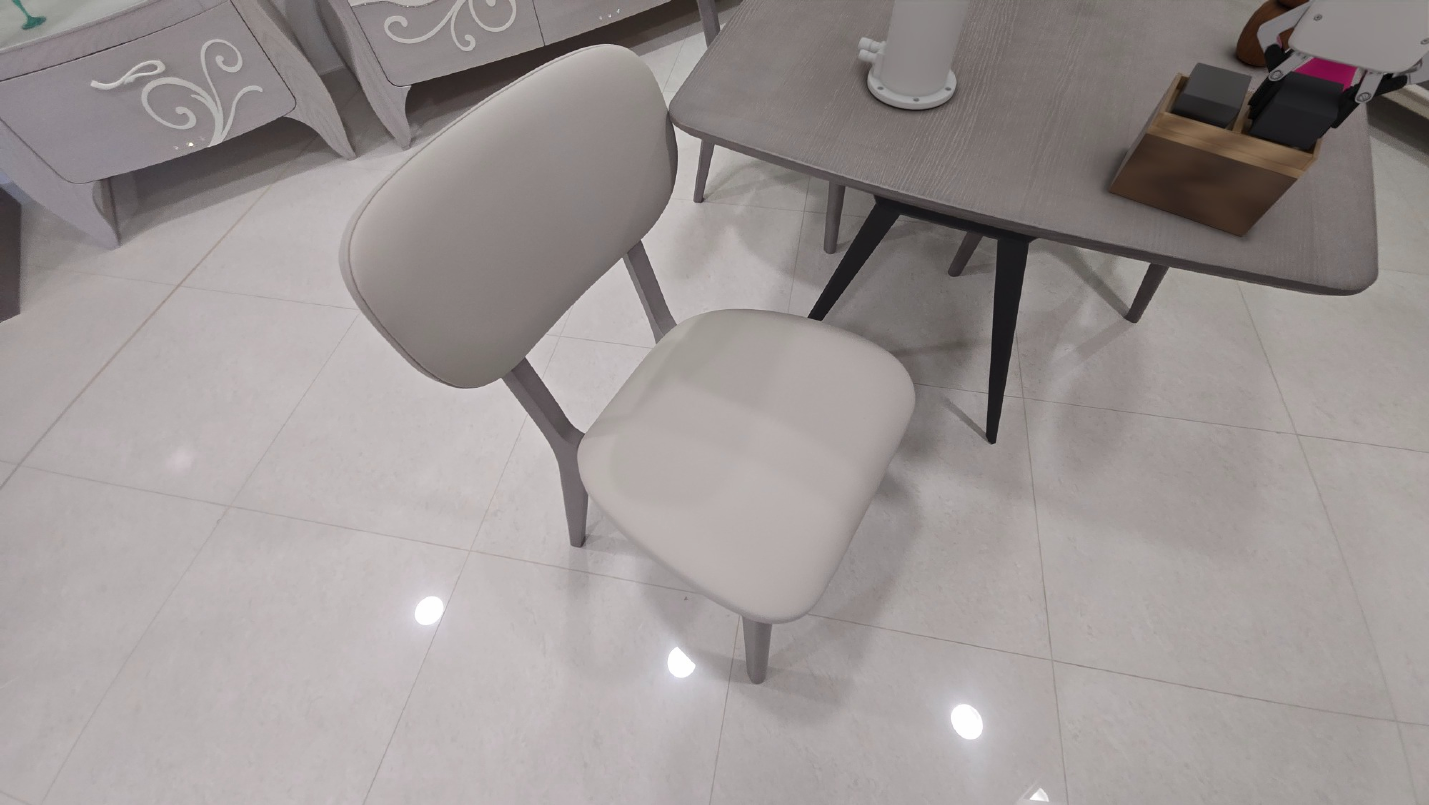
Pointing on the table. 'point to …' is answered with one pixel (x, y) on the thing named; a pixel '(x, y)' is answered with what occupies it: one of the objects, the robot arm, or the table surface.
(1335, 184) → the table surface
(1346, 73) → the pink bowling pin
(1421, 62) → the robot arm
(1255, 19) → the wooden figurine
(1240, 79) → the wooden divided box
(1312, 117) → the black block
